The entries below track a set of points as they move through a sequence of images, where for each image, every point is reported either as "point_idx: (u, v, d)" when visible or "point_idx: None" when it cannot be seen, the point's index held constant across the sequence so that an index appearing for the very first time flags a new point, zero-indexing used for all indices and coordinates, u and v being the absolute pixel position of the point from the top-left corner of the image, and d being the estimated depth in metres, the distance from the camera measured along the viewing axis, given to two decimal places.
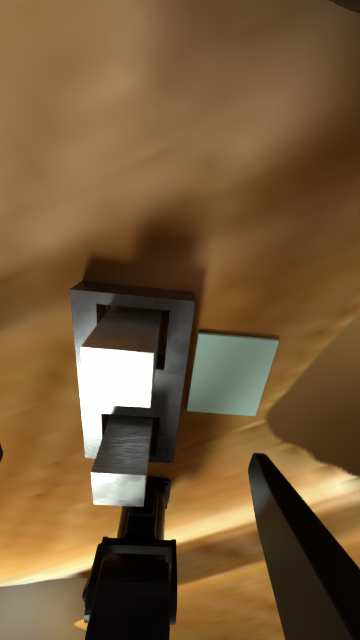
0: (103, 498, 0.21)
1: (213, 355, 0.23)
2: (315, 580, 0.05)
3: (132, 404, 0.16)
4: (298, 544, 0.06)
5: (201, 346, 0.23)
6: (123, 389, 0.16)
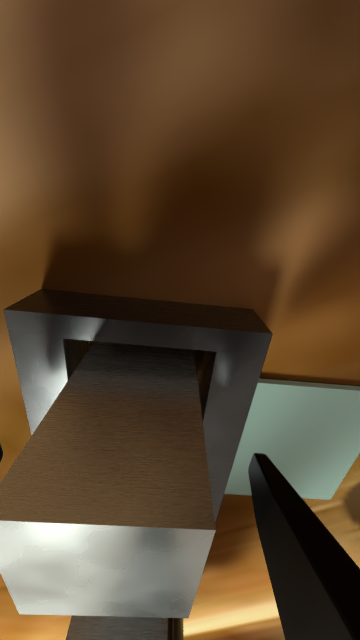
0: None
1: (277, 416, 0.14)
2: (315, 580, 0.05)
3: (143, 614, 0.06)
4: (298, 544, 0.06)
5: (258, 402, 0.13)
6: (119, 592, 0.06)
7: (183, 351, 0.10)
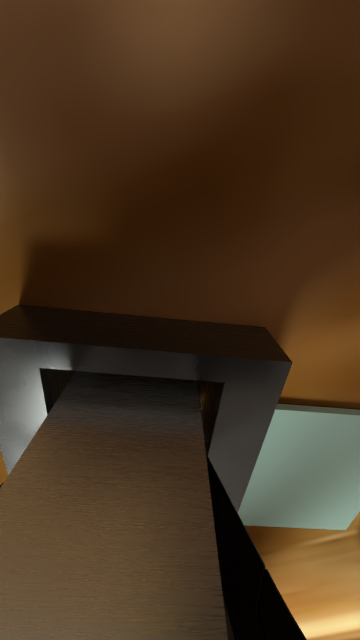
0: None
1: (290, 444, 0.12)
2: None
3: None
4: None
5: (269, 430, 0.12)
6: None
7: None
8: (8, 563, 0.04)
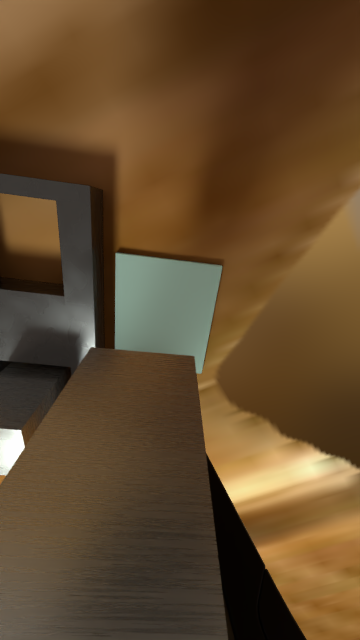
0: None
1: (139, 286, 0.18)
2: None
3: None
4: None
5: (121, 272, 0.18)
6: None
7: (184, 377, 0.09)
8: (7, 562, 0.04)
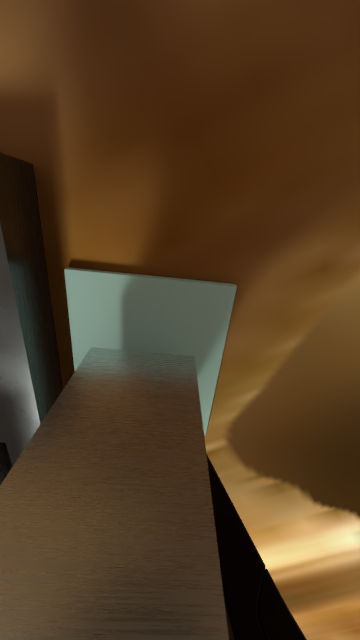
0: None
1: (106, 318, 0.12)
2: None
3: None
4: None
5: (76, 298, 0.11)
6: None
7: (184, 377, 0.09)
8: (7, 563, 0.04)
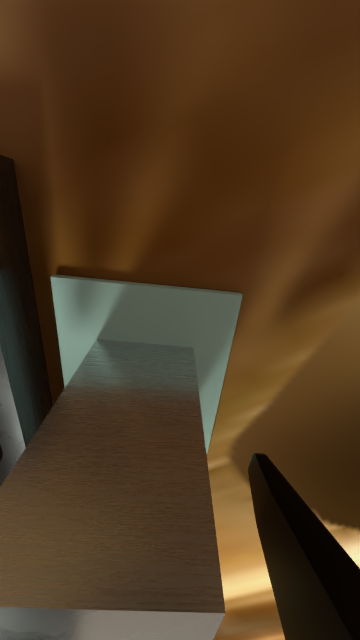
0: None
1: (98, 330, 0.11)
2: (315, 580, 0.05)
3: None
4: (298, 544, 0.06)
5: (64, 308, 0.10)
6: None
7: (184, 366, 0.09)
8: (33, 510, 0.05)
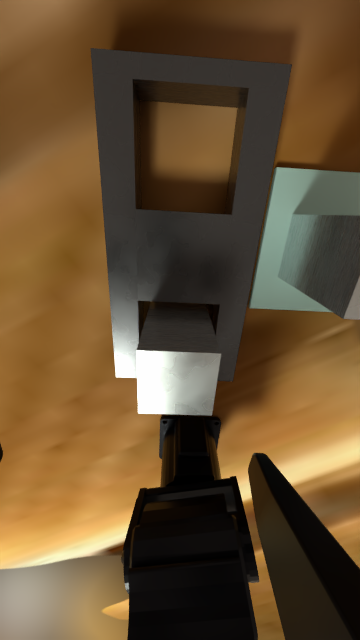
0: (153, 401, 0.14)
1: (295, 207, 0.16)
2: (315, 580, 0.05)
3: None
4: (298, 544, 0.06)
5: (279, 190, 0.16)
6: None
7: None
8: None
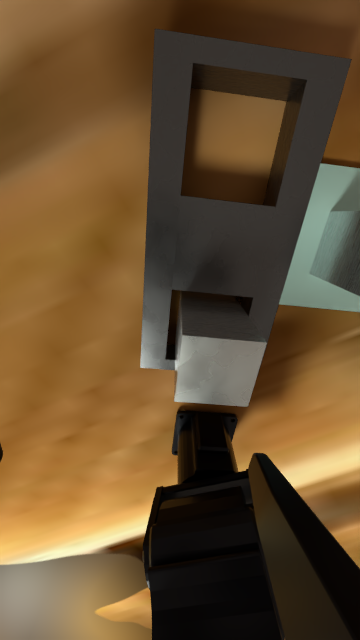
0: (192, 389, 0.14)
1: (333, 204, 0.16)
2: (315, 580, 0.05)
3: None
4: (298, 544, 0.06)
5: (319, 187, 0.16)
6: None
7: None
8: None
